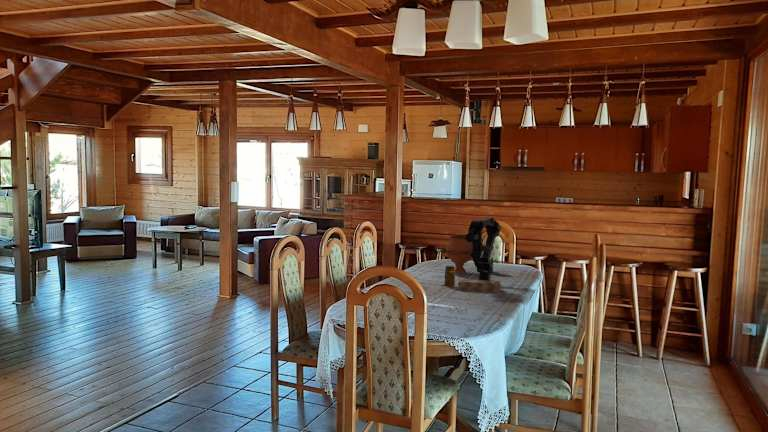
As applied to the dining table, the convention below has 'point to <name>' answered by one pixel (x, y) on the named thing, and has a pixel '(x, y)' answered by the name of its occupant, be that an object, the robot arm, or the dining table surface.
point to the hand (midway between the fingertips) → (476, 266)
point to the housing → (478, 285)
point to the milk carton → (490, 256)
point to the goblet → (459, 252)
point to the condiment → (449, 277)
